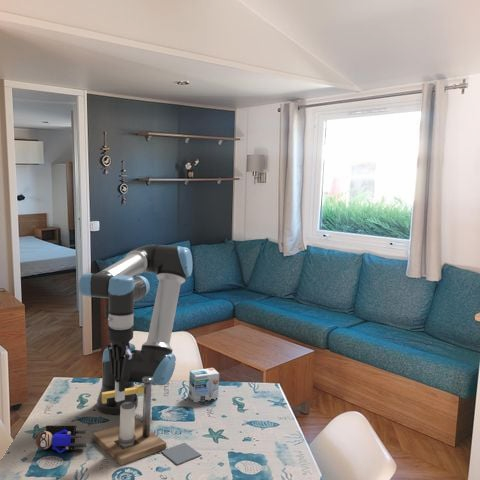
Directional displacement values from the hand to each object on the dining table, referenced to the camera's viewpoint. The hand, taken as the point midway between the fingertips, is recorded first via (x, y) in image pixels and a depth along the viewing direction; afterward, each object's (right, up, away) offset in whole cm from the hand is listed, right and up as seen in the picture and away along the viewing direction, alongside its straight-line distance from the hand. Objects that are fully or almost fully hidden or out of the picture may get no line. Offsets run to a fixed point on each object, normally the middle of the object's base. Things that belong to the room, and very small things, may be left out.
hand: (119, 400), depth 152 cm
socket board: (+2, -16, +6) cm, 17 cm away
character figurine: (-18, -16, +1) cm, 24 cm away
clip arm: (0, -1, +2) cm, 2 cm away
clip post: (+7, -15, +8) cm, 18 cm away
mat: (+19, -18, +2) cm, 26 cm away
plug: (+1, -17, +3) cm, 17 cm away
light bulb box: (+23, -14, +44) cm, 51 cm away
